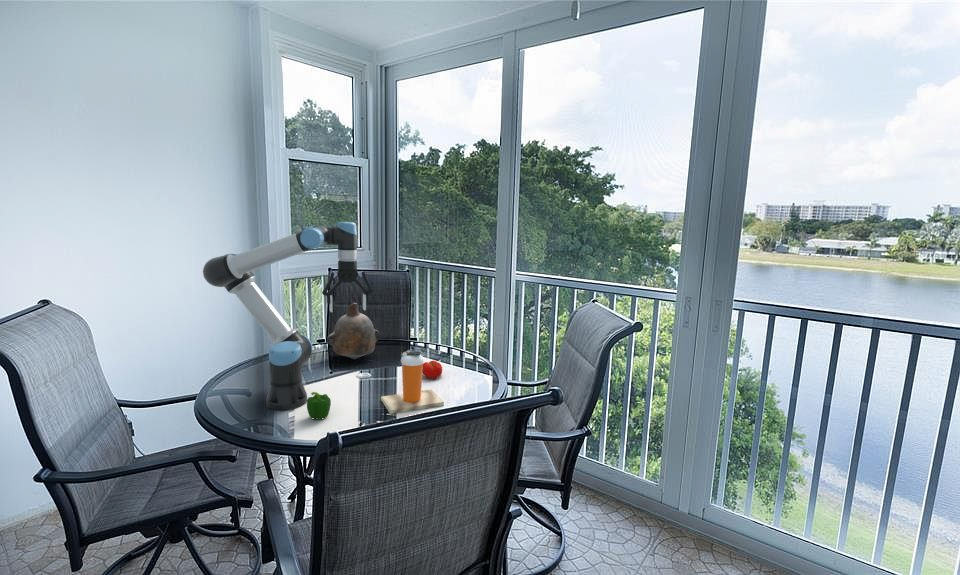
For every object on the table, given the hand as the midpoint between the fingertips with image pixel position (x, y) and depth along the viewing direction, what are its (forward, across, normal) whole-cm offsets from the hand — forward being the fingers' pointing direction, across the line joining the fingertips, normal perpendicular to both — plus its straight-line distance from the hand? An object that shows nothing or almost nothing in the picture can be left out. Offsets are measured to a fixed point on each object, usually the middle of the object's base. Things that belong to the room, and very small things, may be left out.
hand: (348, 310), depth 195 cm
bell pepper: (+35, +15, +23) cm, 44 cm away
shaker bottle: (+33, -21, +23) cm, 46 cm away
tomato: (+35, -39, -3) cm, 52 cm away
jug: (+35, -10, -40) cm, 54 cm away
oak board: (+35, -21, +23) cm, 47 cm away
